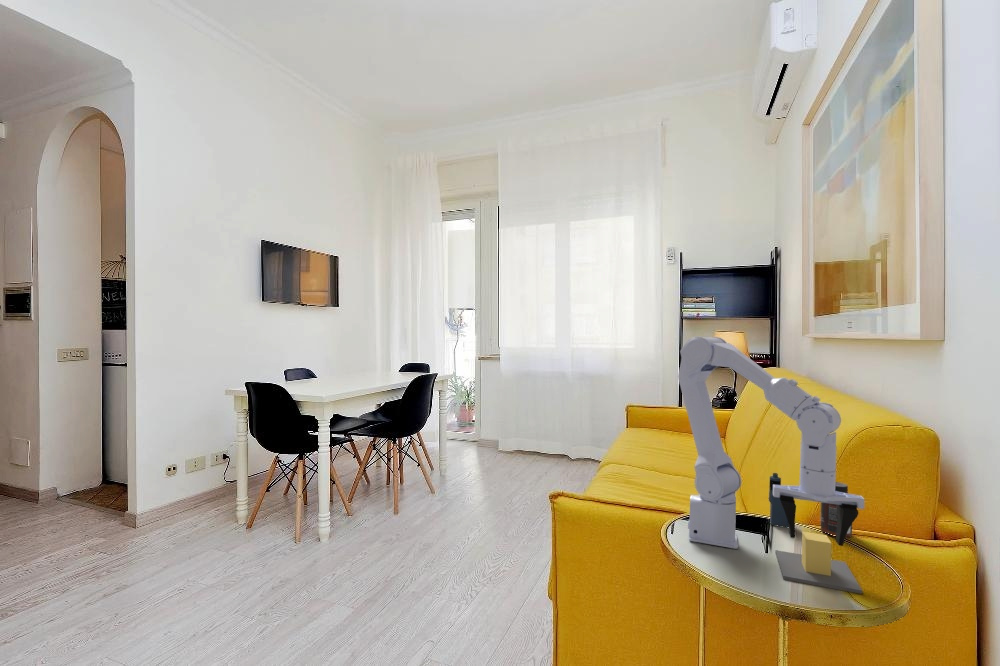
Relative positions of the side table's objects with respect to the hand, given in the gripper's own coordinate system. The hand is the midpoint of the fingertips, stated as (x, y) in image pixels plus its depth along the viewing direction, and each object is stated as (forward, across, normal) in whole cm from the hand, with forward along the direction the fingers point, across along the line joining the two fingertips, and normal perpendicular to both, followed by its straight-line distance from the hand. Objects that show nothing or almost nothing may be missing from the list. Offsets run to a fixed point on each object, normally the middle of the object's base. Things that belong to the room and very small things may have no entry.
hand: (815, 539), depth 94 cm
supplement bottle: (+6, +8, +24) cm, 26 cm away
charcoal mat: (+6, 0, 0) cm, 6 cm away
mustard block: (+5, 0, 0) cm, 5 cm away
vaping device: (+6, -3, +24) cm, 25 cm away
